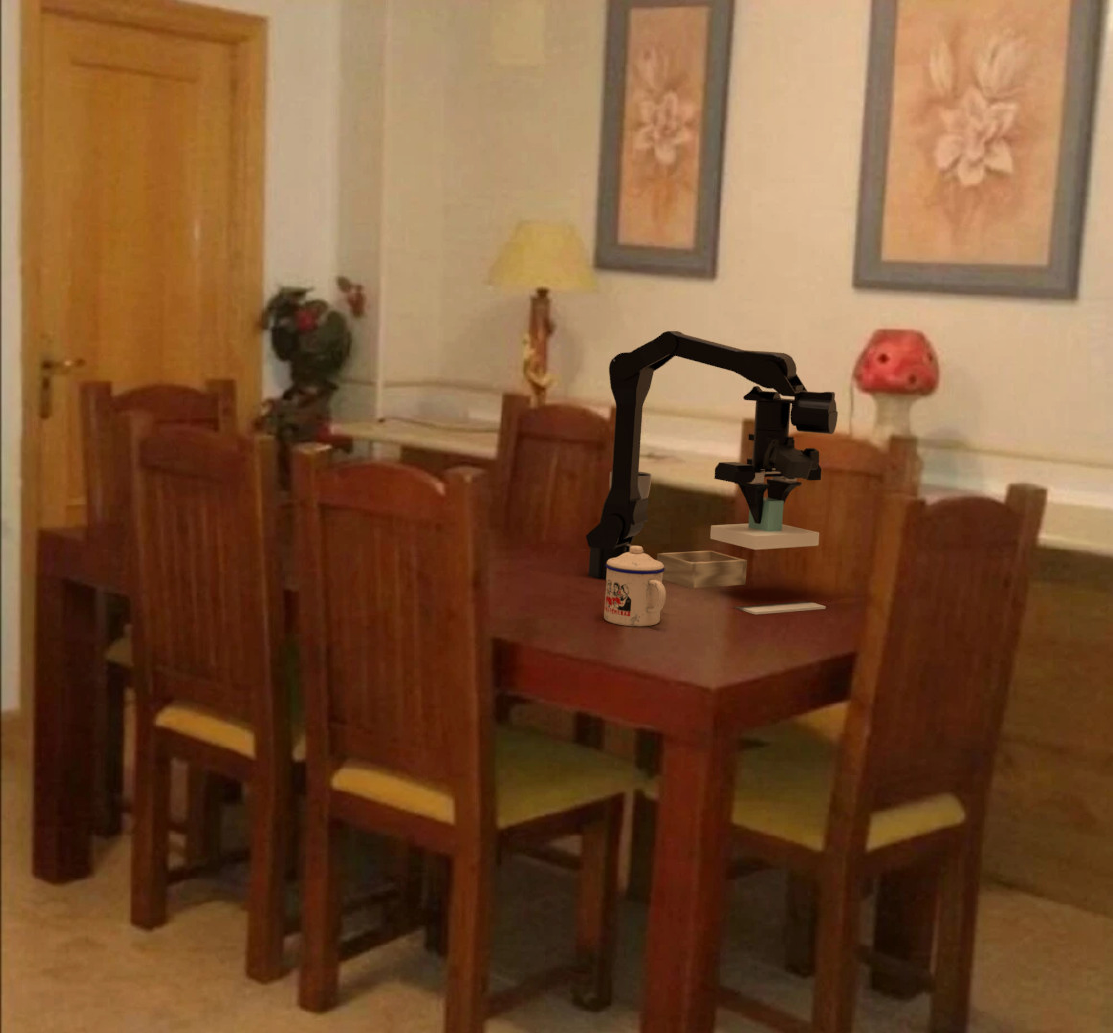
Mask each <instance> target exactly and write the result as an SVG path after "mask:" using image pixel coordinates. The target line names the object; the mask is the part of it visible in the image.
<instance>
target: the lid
mask: <svg viewBox="0 0 1113 1033" xmlns="http://www.w3.org/2000/svg"><path fill="white" fill-rule="evenodd" d="M784 504H785V503H784V501H782V500H777V499H772V498H768V496H764V499H763V511H762V519H761V523H760V524H757V523H755V522H754V519H753V517H752V514H751V512H750V509H749V511H748V512H749V513H748V523H736V524H735V523H734V524H732V523H730V524H716V525H713V524H712V525H710V535H709V536H710V538H709V539H711V540H715V541H718V542H723V543H726V544H730V545H735V546H739V547H743V548H746V549H750V550H753V551H754V550H755V551H757V550H770V549H772V550H773V549H786V548H788V549H789V548H801V547H816V546H819V545H820V544H819V543H820V542H819V541H820V532H818V531H814V530H811V529H810V530H809V529H805V528H800V527H798V526H797V527H796V526H793V525H792V526H791V525H787V524H783V521H784V520H783V518H784V517H783V516H784V515H783V514H784Z"/></svg>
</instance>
